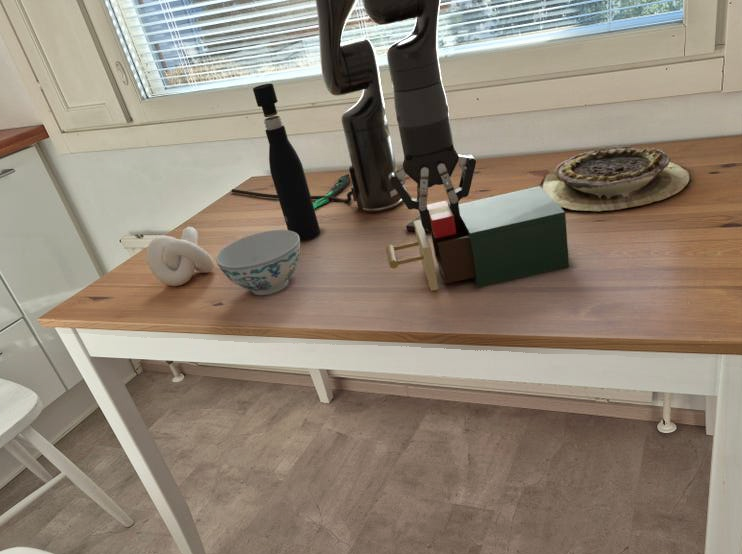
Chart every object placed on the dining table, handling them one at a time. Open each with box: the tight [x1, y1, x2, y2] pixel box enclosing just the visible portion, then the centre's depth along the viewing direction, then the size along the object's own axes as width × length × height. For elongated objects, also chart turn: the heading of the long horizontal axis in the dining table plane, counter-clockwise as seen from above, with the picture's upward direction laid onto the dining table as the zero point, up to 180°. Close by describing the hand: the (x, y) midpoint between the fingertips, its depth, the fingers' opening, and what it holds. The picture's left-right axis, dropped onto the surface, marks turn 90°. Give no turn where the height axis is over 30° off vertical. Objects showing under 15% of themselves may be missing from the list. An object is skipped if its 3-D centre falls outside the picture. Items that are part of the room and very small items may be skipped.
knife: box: [312, 173, 351, 210], centre depth 162 cm, size 23×1×5 cm
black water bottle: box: [252, 83, 321, 243], centre depth 133 cm, size 6×6×30 cm
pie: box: [538, 145, 690, 212], centre depth 130 cm, size 28×27×5 cm
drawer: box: [385, 219, 476, 292], centre depth 109 cm, size 19×12×7 cm, turn 96°
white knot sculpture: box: [146, 226, 215, 287], centre depth 133 cm, size 11×12×9 cm
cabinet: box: [458, 185, 570, 288], centre depth 109 cm, size 15×14×9 cm
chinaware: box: [215, 229, 301, 296], centre depth 120 cm, size 15×15×8 cm
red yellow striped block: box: [427, 200, 457, 239], centre depth 106 cm, size 8×3×3 cm, turn 6°
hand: (441, 226), depth 107 cm, fingers closed on red yellow striped block, 3 cm apart
